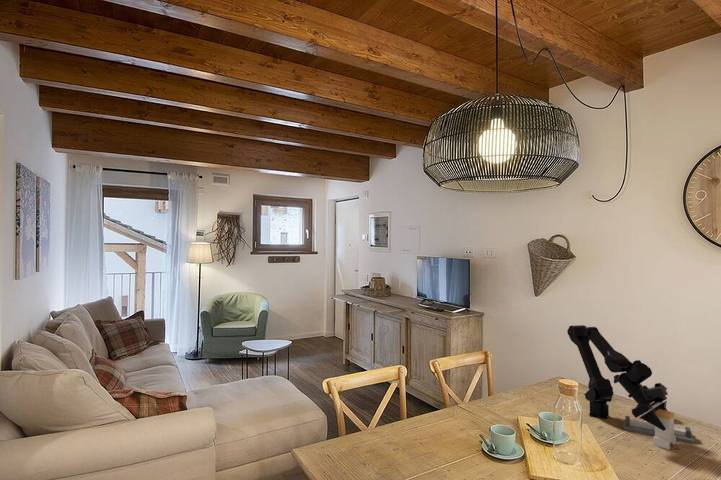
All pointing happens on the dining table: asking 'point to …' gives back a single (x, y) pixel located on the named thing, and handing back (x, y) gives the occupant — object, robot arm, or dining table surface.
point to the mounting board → (652, 432)
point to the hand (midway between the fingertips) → (668, 427)
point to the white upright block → (667, 435)
